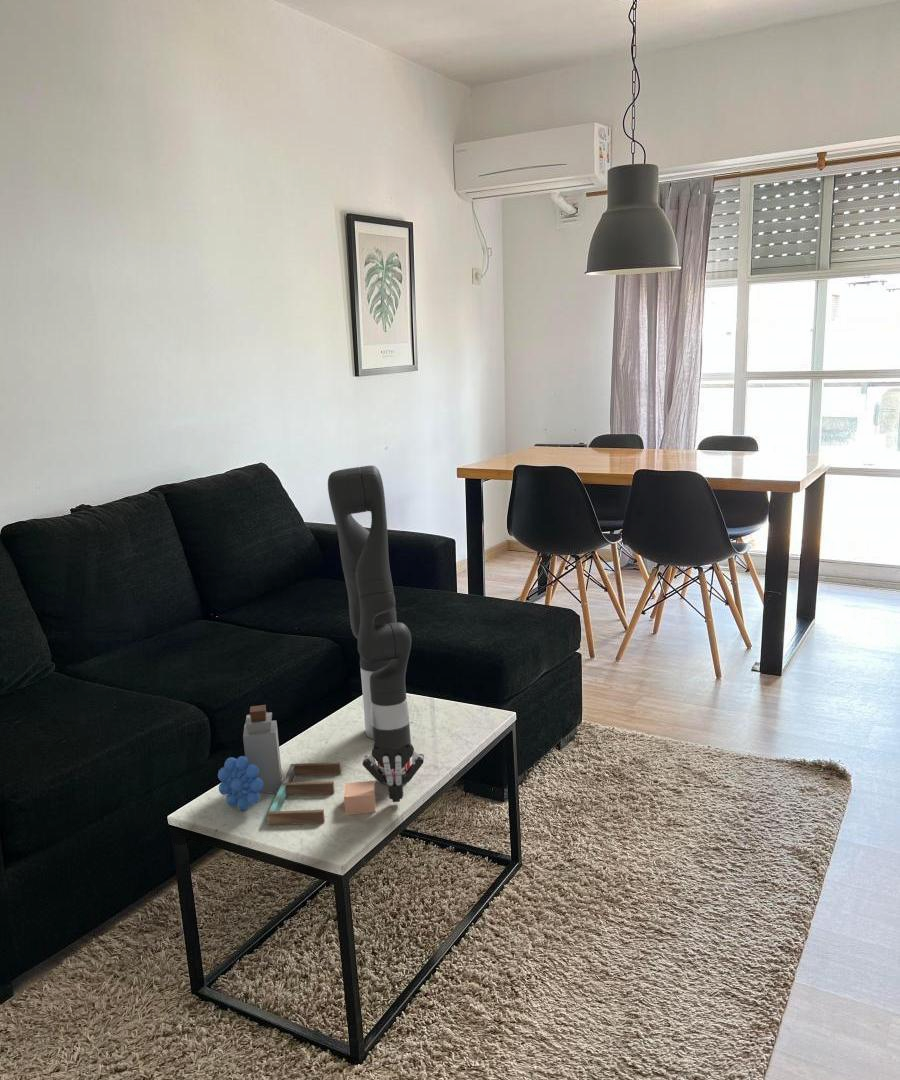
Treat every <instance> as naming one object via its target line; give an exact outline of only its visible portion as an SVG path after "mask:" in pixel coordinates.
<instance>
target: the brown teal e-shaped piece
mask: <svg viewBox="0 0 900 1080" xmlns="http://www.w3.org/2000/svg"><path fill="white" fill-rule="evenodd" d="M341 774H342V766H341V761H338V762H337V761H334V762H333V761H332V762H330V761H329V762H311V763H308V762H307V763H290V765H289V767H288V769H287V772H286V773H285V776H284V778H283V779H282V784H281V786H280V789H279V791H278V792H276V795H275V798H274V799H273V802H272V803H271V806H270V808H269V810H268V812H267V820H268V825H269V826H279V825H280V826H281V825H305V824H307V825H308V824H309V825H310V824H324V823H325V822H326V821H325V819H326V818H325V812H324V811H325V810H324V809H304V810H303V809H299V810H298V809H297V810H281V809H282V807H283V806H284V803H285V800H286V798H287V796H309V795H311V796H312V795H333V794H335V782H334V780H333V781H332V780H331V781H329V780H328V781H325V780H324V781H305V782H304V781H303V782H301V781H299V782H294V780H295V778H296V777H297V776H298V777H299V776H300V777H301V776H302V777H303V776H324V775H327V776H328V775H329V776H331V775H341Z"/></svg>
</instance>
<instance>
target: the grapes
mask: <svg viewBox="0 0 900 1080" xmlns="http://www.w3.org/2000/svg"><path fill="white" fill-rule="evenodd" d="M258 773H259V768H258V766H257V765H255V764H250V765H249V760H248V759H247V757H245V755H240V756H238V757H237V758H235V757H231V756H230V757H228V758H227V759H225V761H224V766H223V767H220V769H219V770H218V774H217V777H218V779H219V781H220V783H219V786H218V792H219V794H221V795H222V796H226V797H225V798H226V799H225V801H226V802H225V803H226V804H227V805H228V806H229V807H236V806H237V807H238V809H239V810H241V811H246V810H248V809H249V807H250V806H251V805H256V804H258V803H259V801H260V798H261V794H259V791H261V789H262V788H263V781H262V779H260V778H257V775H258Z"/></svg>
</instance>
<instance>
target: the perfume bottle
mask: <svg viewBox="0 0 900 1080" xmlns="http://www.w3.org/2000/svg"><path fill="white" fill-rule="evenodd" d="M272 718H273V712H272V711H271V712H267V704H262V705H254V706H253V705H252V706H250V708H249V714H246V718H245V723H244V726H243V733H242V734H243V735H242V739H243V740H242V741H243V749H244V751H243V752H244V756H245V757H247V759H248V760H249V765H250V764H255V765H257V766H258V768H259V773H258V775H257V778H260V779H262V781H263V788H262V789H261V791H259V794H260V795H266V794H273V793H275V794H276V793H278V791H279V789H280V786H281V784H282V782H283V774H282V773H283V772H282V762H281V751H280V744H279V743H280V742H279V734H278V733H279V731H278V723H277V720H272Z"/></svg>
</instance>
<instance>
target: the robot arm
mask: <svg viewBox="0 0 900 1080" xmlns="http://www.w3.org/2000/svg"><path fill="white" fill-rule="evenodd" d="M327 491H328V498H329V502H330V506H331V511H332V515H333V518H334V519H333V520H334V522H335V526H336V529H337V530H336V531H337V537H338V543H339V544H338V545H339V551H340V552H339V553H340V560H341V566H342V573H343V576H344V580H345V586H346V590H347V597H348V610H349V621H350V629H351V631H352V634H353V636H354V637H355V639H357V651H358V653H359V656H360V657H359V666H360V679H361V689H362V704H363V715H364V726H365V727H364V728H365V735H366V737H368V738H369V739H372V743H373V745H372V746H373V747H372V749H371V753H370V754H369V755H365V756H364V758H363V760H362V766H363V767H364V768H365V769H366V771H367V772H369V774H370V775H372V777H373V778H374V779H375V780H376V782H378V783H379V784H386V785H387V787H388V788H387V789H388V799H389V800H391V801H392V803H400V801H401V800H402V799H403V798H404V783H410V782H411V780H412V779H413V777H414V776H415V775H416V774H417V772H418V771H419V769H420V768H421V766H423V764H424V760H425V755H424V754H423V753H420V754H419V753H418V752H416V751H415V748H414V746H413V744H412V739H411V728H410V727H411V725H410V712H409V705H408V701H407V689H406V687H407V686H406V673H407V666H408V662H409V656H410V653H411V649H412V635H411V631H410V629H409V628H408V626H407V625H406V624H405V623H403V622H400V621H399V622H398V621H397V609H396V596H395V592H394V585H393V580H392V573H391V568H390V557H389V540H388V539H389V537H388V522H387V509H386V498H385V490H384V482H383V478H382V475H381V472H380V470H379V469H378V468H377V467H376V466H375V465H363V466H357V467H356V466H355V467H350V468H349V467H348V468H343V469H339V470H335V471H332V472H331V473H330V474H329V476H328V478H327ZM366 512H370V513H371V515H370V516H371V521H370V522H371V524H370V529H369V530H368V529H367V528H365V526H363V525H362V524H360V523H359V522H358V521H357V520H356V519H355V518H354V517H353V514H358V513H359V514H361V513H366ZM409 759H410V760H411V764H410V767H409V769H408V770H407V771H406V773H405V774H403V767H404V766H405V765H406V764H407V762H408V761H409ZM376 762H378V763H379V764H380V765H381V766H382V767H383V768H384V769H385V773H384V772H383V771H382V770H381V769H380V768H379V767H378V763H376ZM393 769H395V775H396V781H394V772H393Z"/></svg>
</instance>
